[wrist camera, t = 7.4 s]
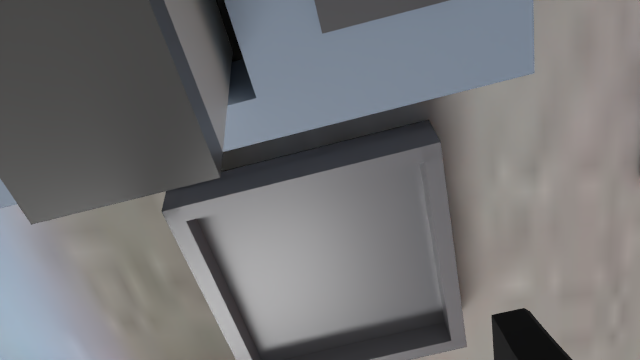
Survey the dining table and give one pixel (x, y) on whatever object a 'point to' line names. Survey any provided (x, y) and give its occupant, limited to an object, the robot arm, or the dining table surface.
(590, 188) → the dining table surface
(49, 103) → the plug
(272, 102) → the power strip
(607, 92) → the dining table surface
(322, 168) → the tray
